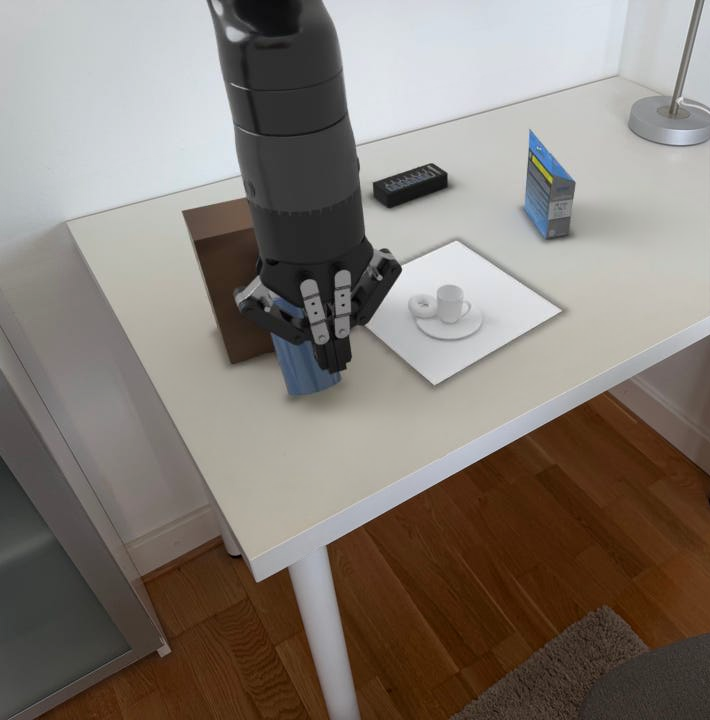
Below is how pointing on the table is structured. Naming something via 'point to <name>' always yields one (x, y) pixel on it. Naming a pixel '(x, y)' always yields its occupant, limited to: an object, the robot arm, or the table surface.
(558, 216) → the blue grey carton
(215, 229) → the walnut block
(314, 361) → the blue cylinder
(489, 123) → the table surface
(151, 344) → the table surface
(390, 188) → the multiport hub
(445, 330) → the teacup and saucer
